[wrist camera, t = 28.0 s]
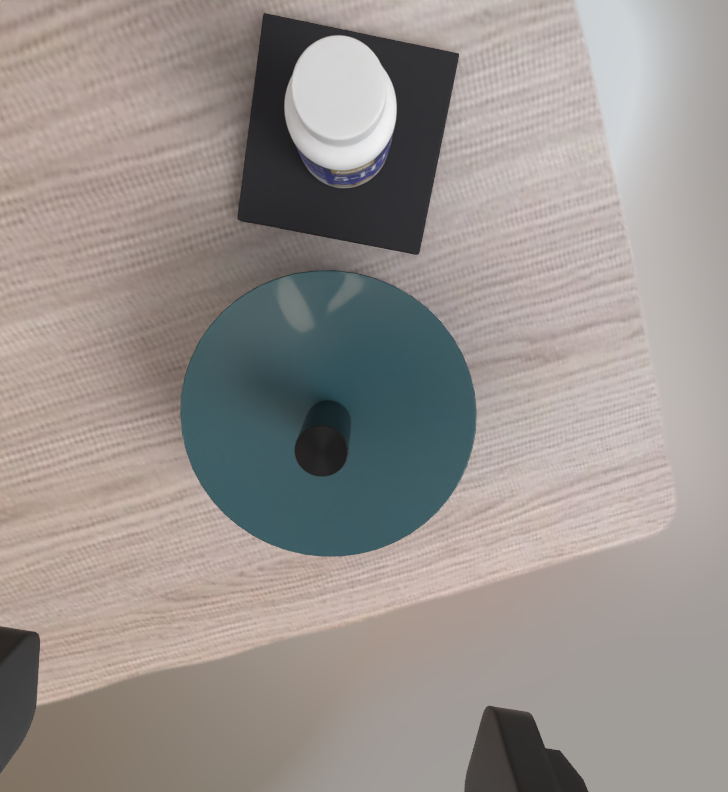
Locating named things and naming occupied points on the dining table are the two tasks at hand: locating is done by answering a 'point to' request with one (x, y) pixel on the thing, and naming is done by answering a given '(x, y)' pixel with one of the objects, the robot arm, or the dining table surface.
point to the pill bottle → (341, 111)
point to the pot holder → (394, 183)
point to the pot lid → (328, 413)
